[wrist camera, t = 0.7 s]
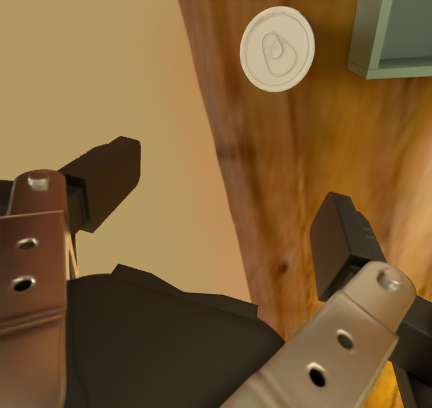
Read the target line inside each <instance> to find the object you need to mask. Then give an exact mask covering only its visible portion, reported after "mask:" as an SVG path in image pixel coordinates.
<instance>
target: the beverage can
mask: <svg viewBox="0 0 432 408" xmlns="http://www.w3.org/2000/svg"><path fill="white" fill-rule="evenodd" d="M314 52H315V36H314V32H313V29H312V26H311V24H310V22H309V21H308V19H307V18H306V17H305V16H304V15H303V14H302V13H301V12H299V11H298V10H295V9H293V8H290V7H281V6H279V7H272V8H269V9H266V10H264V11H262V12H261V13H259V14H258V15H257V16H256V17H255V18H253V19H252V21H251V22H250V23H249V25H248V26H247V28H246V30H245V32H244V34H243V37H242V40H241V46H240V60H241V65H242V68H243V70H244V73H245V74H246V76H247V77H248V79H249V80H250V81H251V82H252V83H253V84H254V85H255V86H257V87H258V88H260V89H262V90H265V91H269V92H281V91H285V90H287V89H290V88H292V87H293V86H295V85H296V84H297V83H299V82H300V81H301V80H302V79H303V77H304V76H305V75H306V73H307V72H308V70H309V68H310V66H311V64H312V61H313V57H314Z"/></svg>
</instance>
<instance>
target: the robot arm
mask: <svg viewBox="0 0 432 408" xmlns="http://www.w3.org/2000/svg"><path fill="white" fill-rule="evenodd" d="M140 157H141V146H140V142H139V141H138V140H135V139H131V138H127V137H123V136H120V137H118V138H117V139H115V140H113V141H112V142H110V143H109V144H105V145H101V146H98V147H94V148H93V149H91V150H89V151H88V152H87V153H86V154H83V155H81V156H80V157H79V158H77V159H75V160H74V161H72V162H70V163H69V164H67V165H66V166H64V167H62V168H61V169H60V170H58V171H55V170H48V169H42V170H33V171H29V172H26V173H23V174H21V175H19V176H18V177H16V179H15V180H14V181H8V180H0V408H362V406H363V404H364V402H365V401H366V399H367V397H368V395H369V393H370V391H371V390H372V388H373V386H374V384H375V382H376V381H377V379H378V377H379V375H380V373H381V371H382V370H383V368H384V366H385V364H386V362H387V361H388V360H389V361H391V362H392V365H393V369H394V372H395V376H396V380H397V383H398V387H399V391H400V394H401V398H402V402H403V405H404V408H432V303H431V302H429V301H427V300H425V299H423V298H421V297H419V296H417V292H416V288H415V286H414V284H413V283H412V281H411V280H410V279H409V278H408V277H407V276H406V275H405V274H404V273H403V272H401V271H400V270H399V269H397V268H395V267H394V266H392V265H390V264H387V262H386V260H385V257H384V255H383V253H382V251H381V248H380V246H379V244H378V242H377V240H376V237H375V235H374V233H373V232H372V231H373V230H372V228H371V226H370V224H369V221H368V220H367V219H366V218H365V217H364V216H363V215H362V214H361V213H360V212H358V211H356V210H355V208H354V205H353V203H352V200H351V198H350V197H349V196H345V195H341V194H338V193H334V192H329V193H328V194H327V195H326V197H325V199H324V201H323V203H322V205H321V207H320V209H319V211H318V213H317V214H316V216H315V218H314V220H313V222H312V225H311V229H310V241H311V248H312V256H313V264H314V271H315V279H316V287H317V294H318V300H319V301H322V302H325V304H324V305H323V306H322V307H321V308H320V309H319V310H318V311H317V312H316V313H315V314H314V315H313V316H312V317H311V318H310V319H309V320H308V321H307V322H306V323H305V324H304V325H303V326H302V327H301V328H300V329H299V330H298V331H297V332H296V333H295V334H294V335H293V336H292V337H291V338H290V339H289V340H288V341H287V342H285V341H284V340H283V338H282V337H281V336H280V335H279V334H278V333H277V332H276V331H275V330H274V329H273V328H271V327H270V326H269V325H268V324H266V323H265V322H264V321H262V320H260V319H259V318H257V310H258V305H255V304H252V303H248V302H245V301H242V300H238V299H235V298H232V297H228V296H225V295H217V294H203V293H188V292H183V291H181V290H179V289H177V288H176V287H174V286H172V285H170V284H169V283H167V282H165V281H164V280H162V279H160V278H158V277H157V276H155V275H153V274H152V273H148V272H145V271H142V270H138V269H135V268H132V267H128V266H125V265H121V264H118V265H117V266H116V267H115V269H114V270H113V272H112V273H111V274H93V275H87V276H83V277H79V267H78V252H77V239H76V233H77V232H78V231H79V230H83V231H86V232H90V233H93V232H94V231H95V230H96V229H97V228H98V227H99V226H100V225H101V224H102V223H103V221H104V220H105V219H106V218H107V217H108V216H109V215H110V214H111V213H112V212H113V211H114V210H115V209H116V208H117V206H118V205H119V204H120V203H121V202H122V201H123V200H124V199H125V198H126V197H127V196H128V195H129V193H130V192H131V191H132V190H133V189H134V188H135V187H136V186H137V184H138V182H139V178H140V160H141V158H140Z"/></svg>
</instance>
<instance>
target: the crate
mask: <svg viewBox="0 0 432 408" xmlns="http://www.w3.org/2000/svg"><path fill="white" fill-rule="evenodd" d="M347 69H349V70H351V71H352V72H354V73H356V74H358V75H359V76H361V77H363V78H365V79H366V80H367V79H386V78H406V77H425V76H432V0H358V3H357V9H356V14H355V20H354V26H353V32H352V38H351V44H350V50H349V56H348V62H347Z"/></svg>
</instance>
